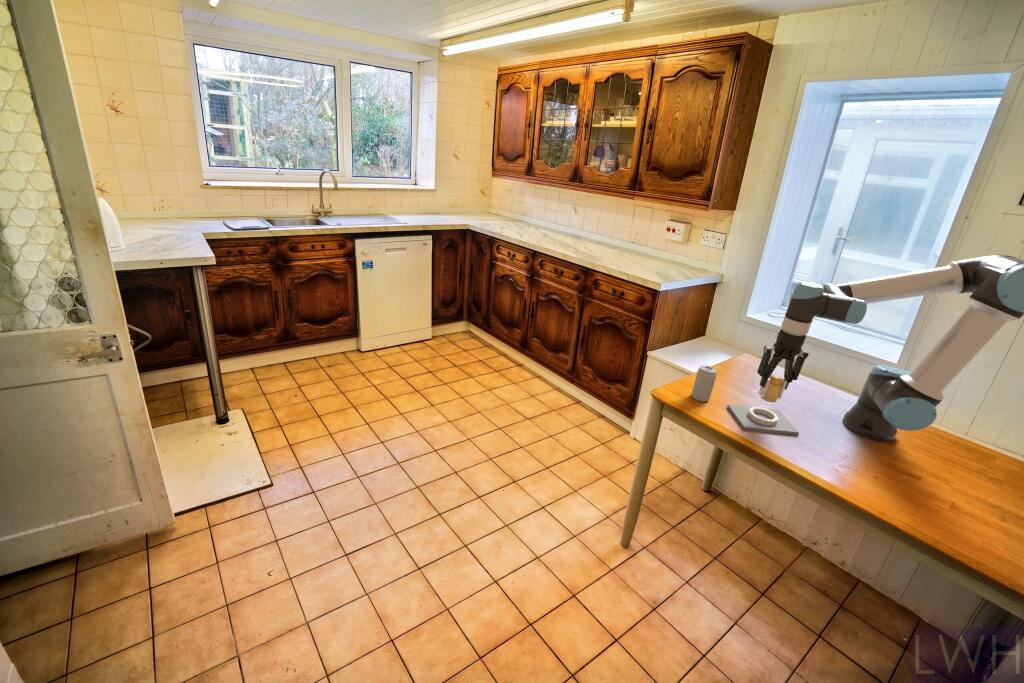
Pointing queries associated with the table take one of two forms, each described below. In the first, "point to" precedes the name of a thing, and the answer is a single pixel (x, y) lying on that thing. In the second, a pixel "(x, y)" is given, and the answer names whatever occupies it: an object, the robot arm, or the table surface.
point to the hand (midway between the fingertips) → (769, 395)
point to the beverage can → (704, 383)
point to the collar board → (760, 427)
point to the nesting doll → (773, 389)
